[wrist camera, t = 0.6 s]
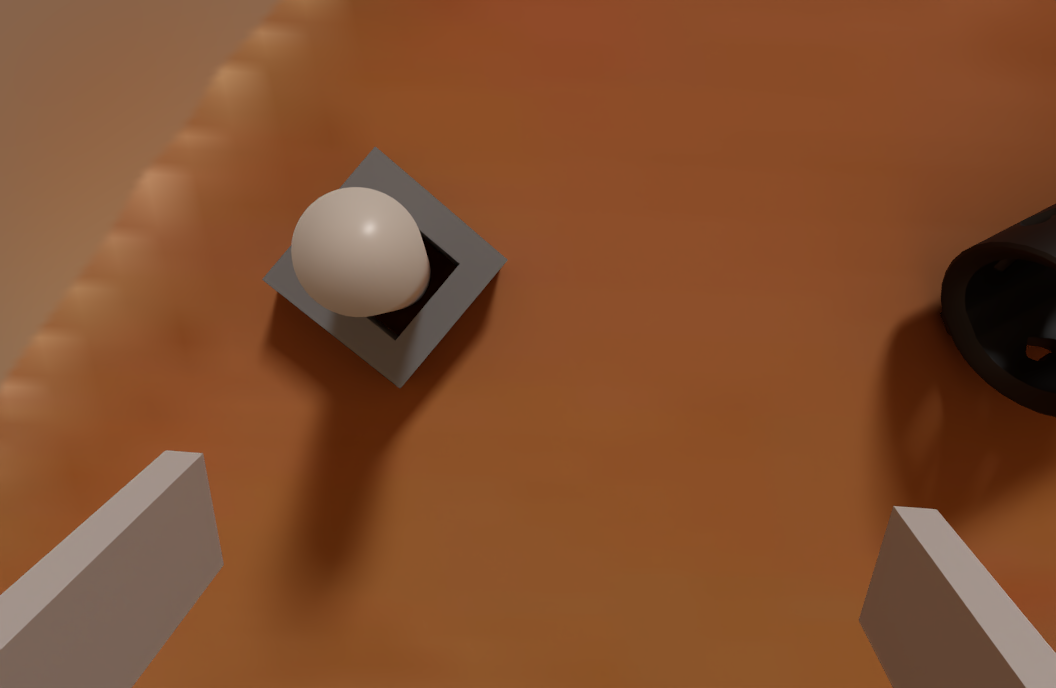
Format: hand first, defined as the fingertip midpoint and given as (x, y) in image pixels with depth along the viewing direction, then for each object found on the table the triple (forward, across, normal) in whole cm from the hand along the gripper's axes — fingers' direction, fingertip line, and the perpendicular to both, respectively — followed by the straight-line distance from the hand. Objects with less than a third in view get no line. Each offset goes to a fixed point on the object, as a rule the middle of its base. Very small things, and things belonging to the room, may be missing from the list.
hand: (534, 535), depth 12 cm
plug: (+19, +8, 0) cm, 21 cm away
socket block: (+19, +8, 0) cm, 21 cm away
